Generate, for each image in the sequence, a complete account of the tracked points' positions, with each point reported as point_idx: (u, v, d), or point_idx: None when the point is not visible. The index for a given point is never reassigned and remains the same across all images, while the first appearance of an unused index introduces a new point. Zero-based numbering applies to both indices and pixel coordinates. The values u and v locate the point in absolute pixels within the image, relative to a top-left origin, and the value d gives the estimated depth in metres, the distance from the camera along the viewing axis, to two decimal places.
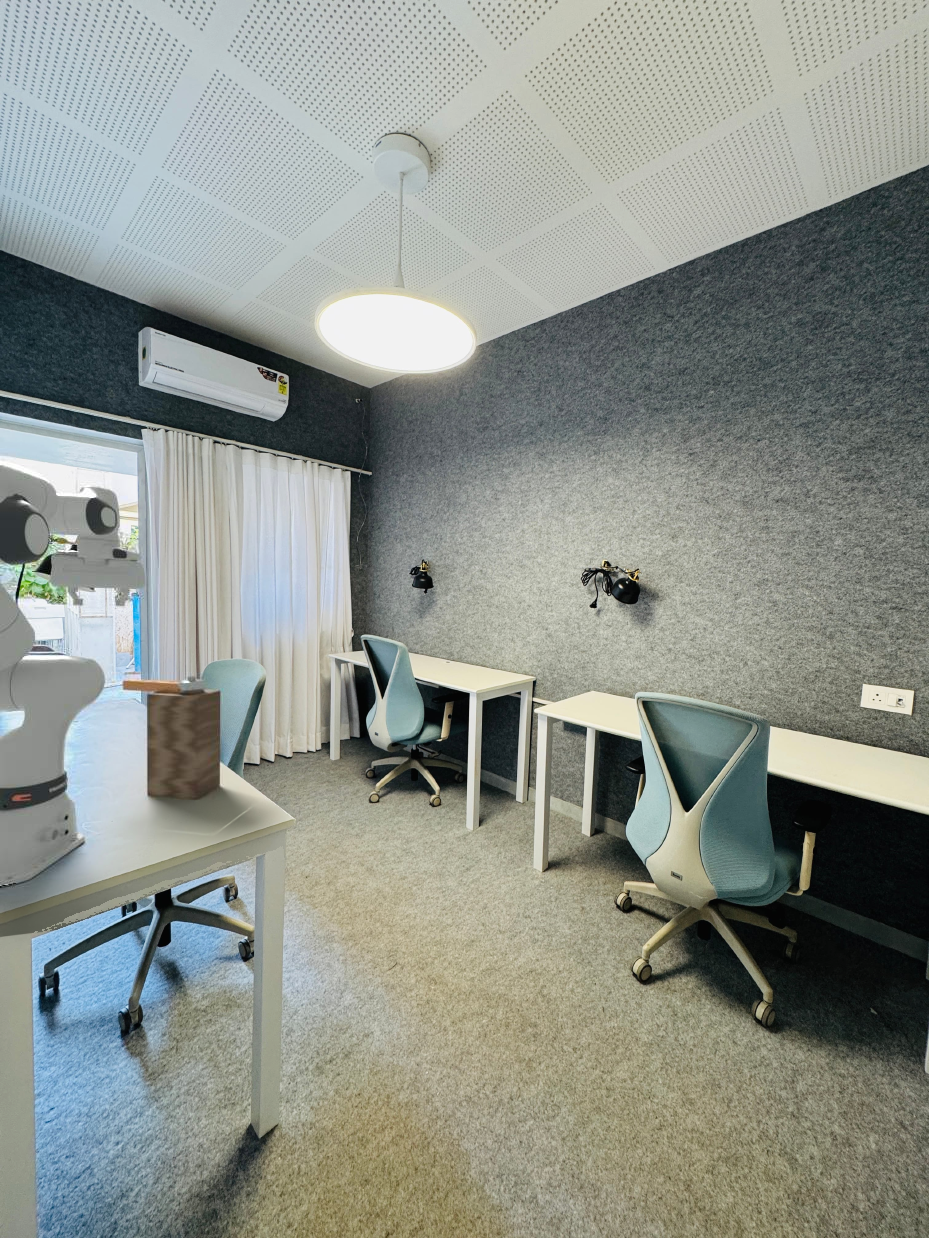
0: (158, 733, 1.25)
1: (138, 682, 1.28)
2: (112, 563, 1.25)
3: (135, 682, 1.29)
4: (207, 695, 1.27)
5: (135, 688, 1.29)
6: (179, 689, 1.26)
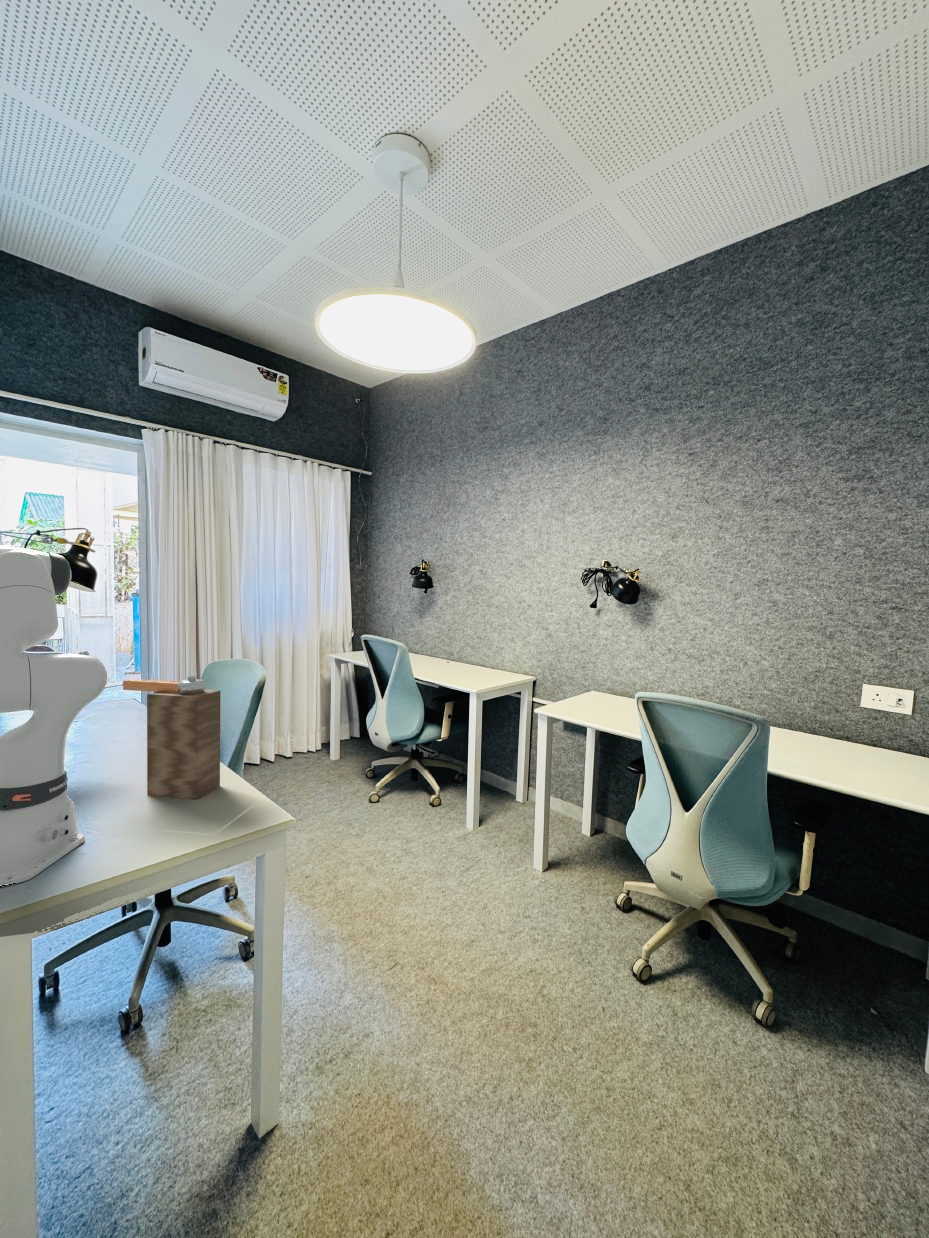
0: (158, 733, 1.25)
1: (138, 682, 1.28)
2: None
3: (135, 682, 1.29)
4: (207, 695, 1.27)
5: (135, 688, 1.29)
6: (179, 689, 1.26)
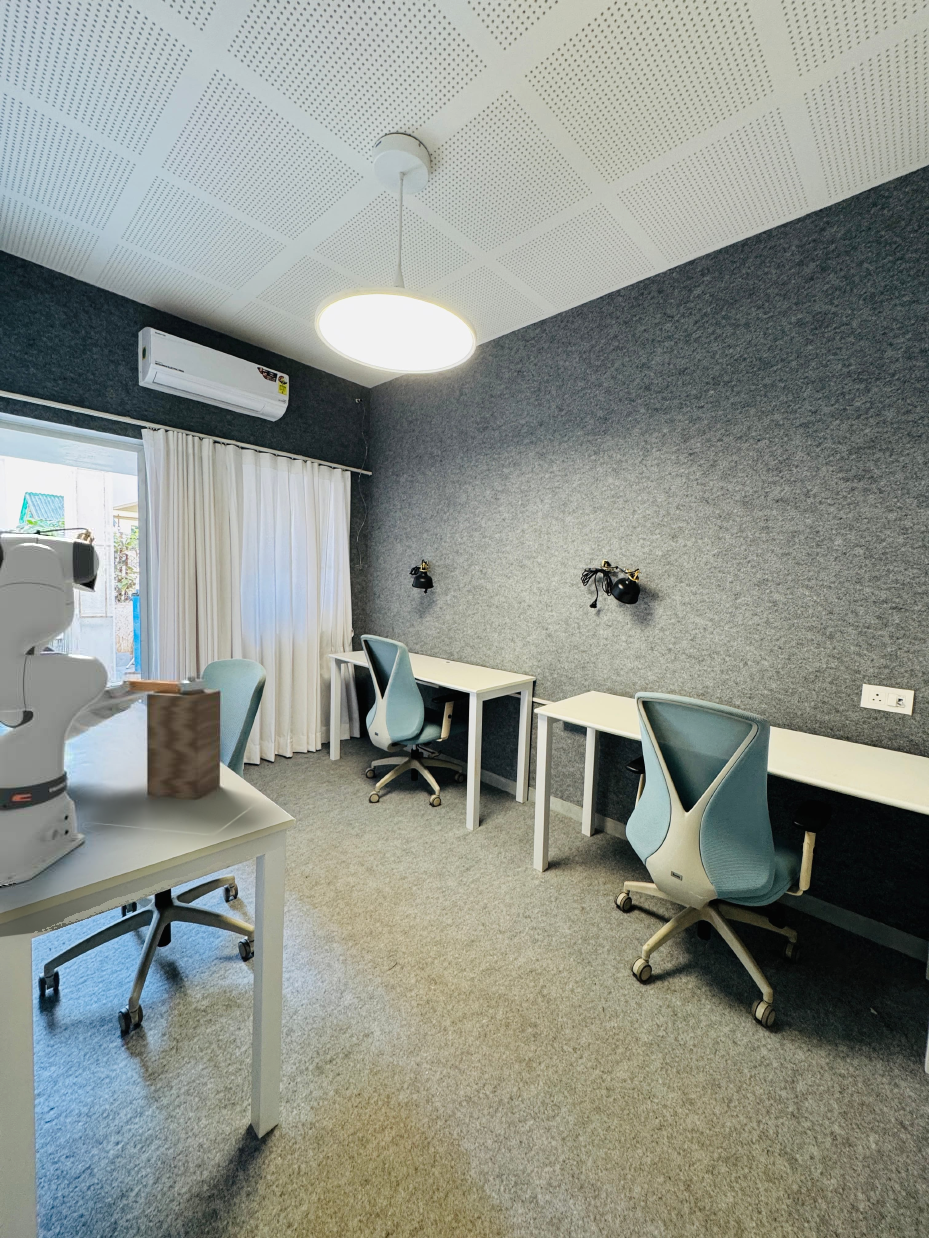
0: (158, 733, 1.25)
1: (138, 682, 1.28)
2: None
3: (135, 682, 1.29)
4: (207, 695, 1.27)
5: (135, 688, 1.29)
6: (179, 689, 1.26)
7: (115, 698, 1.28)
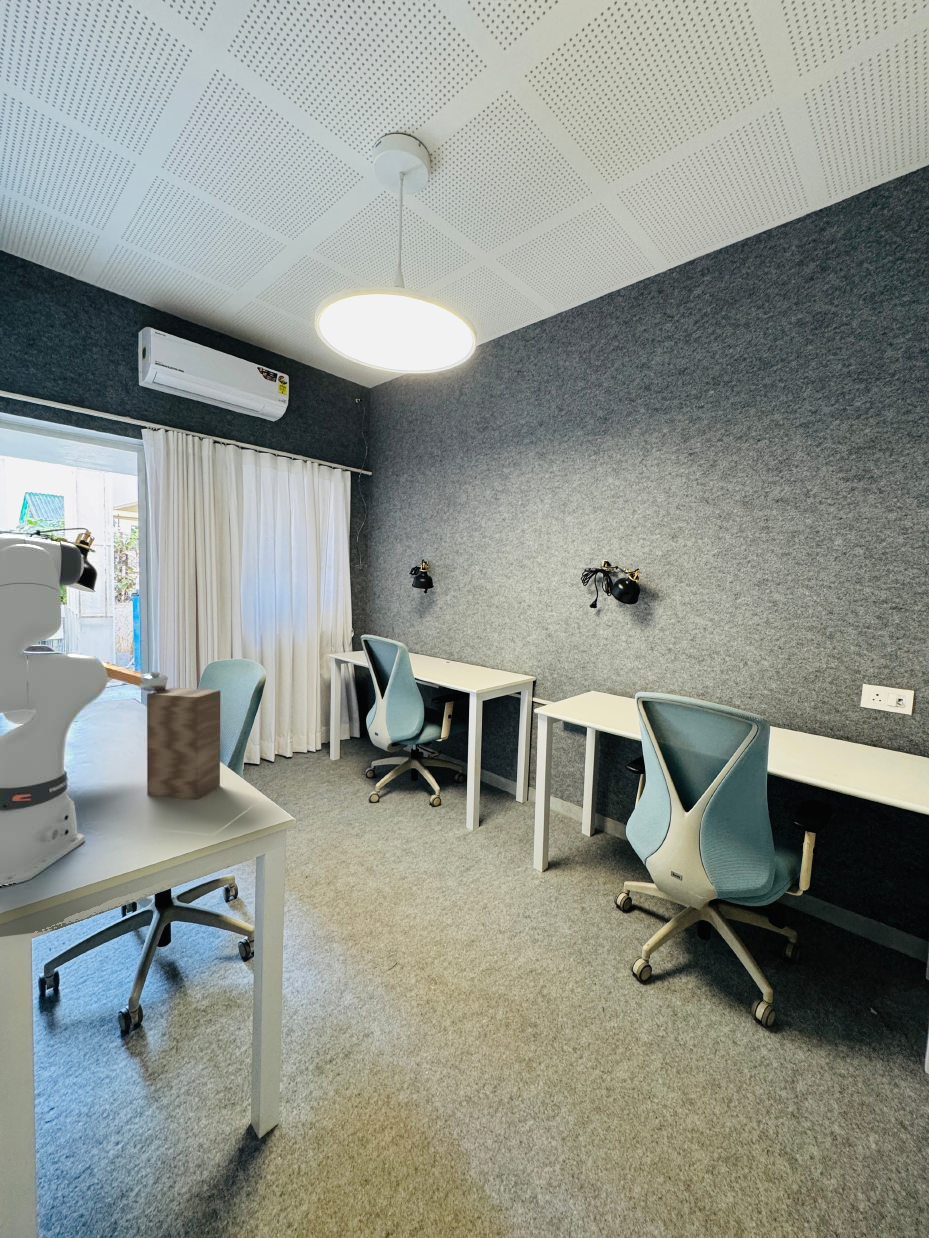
0: (158, 733, 1.25)
1: None
2: None
3: None
4: (207, 695, 1.27)
5: None
6: (140, 683, 1.27)
7: None
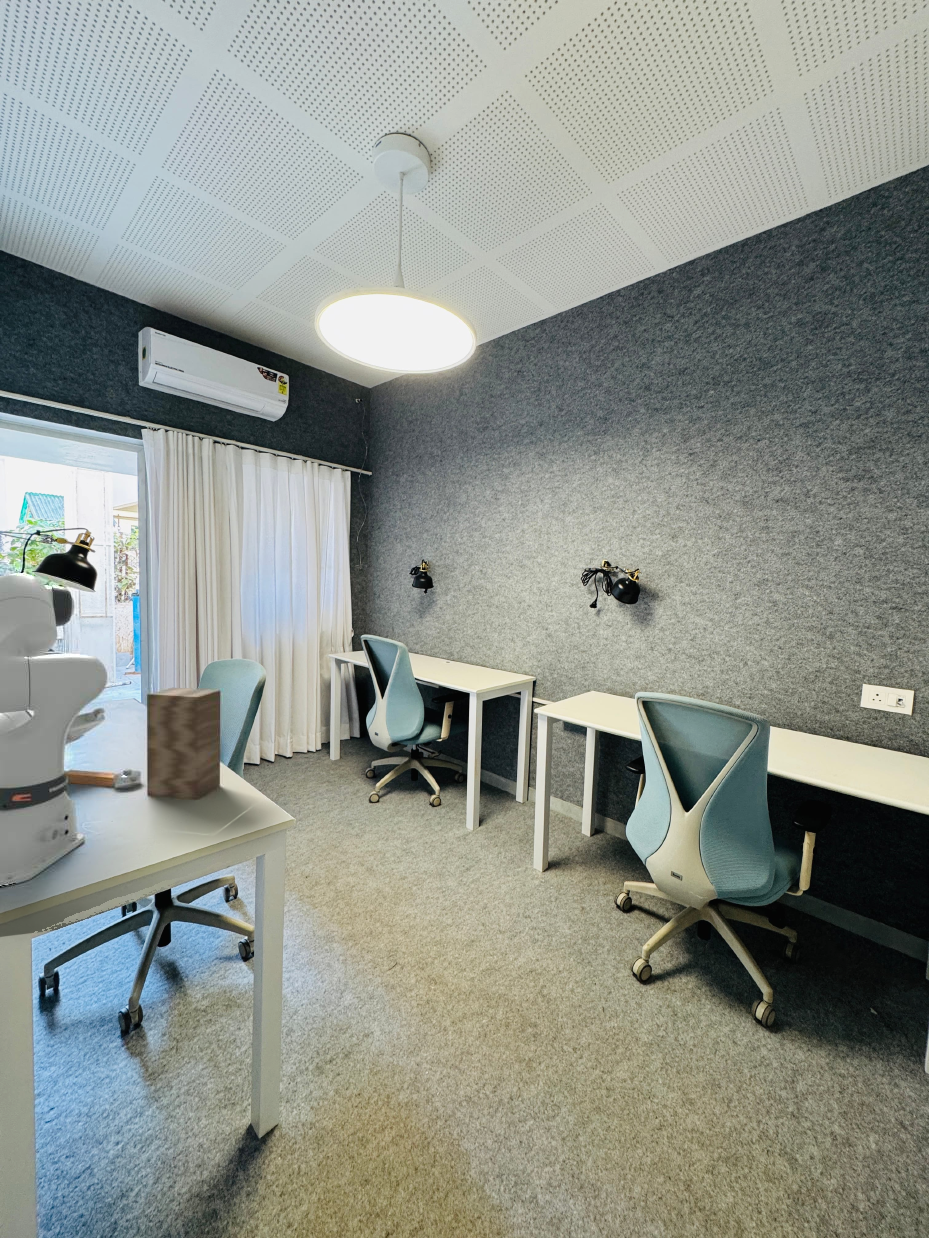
0: (158, 733, 1.25)
1: (76, 775, 1.32)
2: None
3: (73, 775, 1.32)
4: (207, 695, 1.27)
5: (73, 781, 1.32)
6: (114, 784, 1.29)
7: None
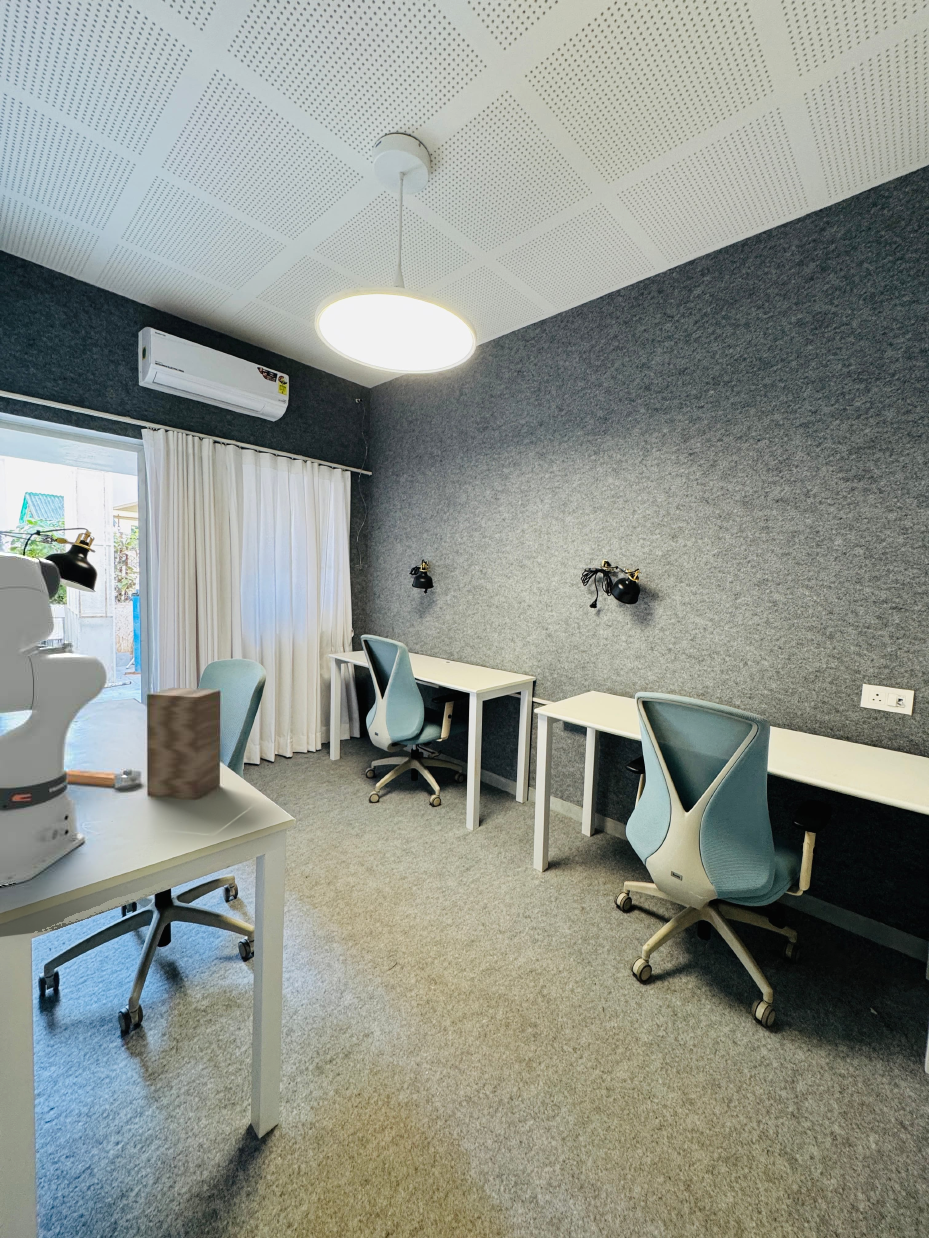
0: (158, 733, 1.25)
1: (76, 775, 1.32)
2: None
3: (73, 775, 1.32)
4: (207, 695, 1.27)
5: (73, 781, 1.32)
6: (114, 784, 1.29)
7: None
